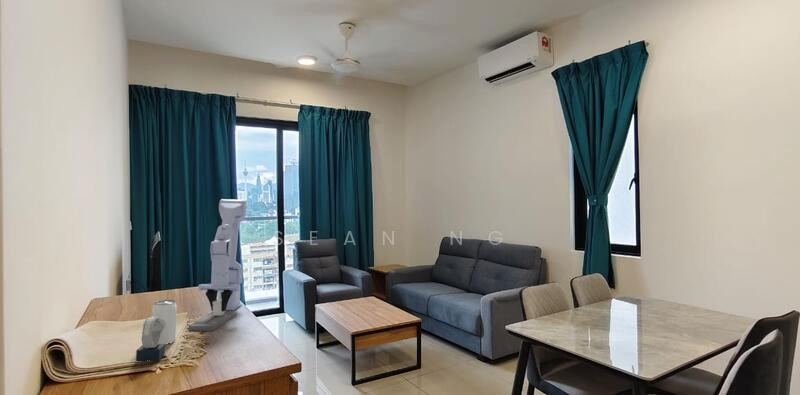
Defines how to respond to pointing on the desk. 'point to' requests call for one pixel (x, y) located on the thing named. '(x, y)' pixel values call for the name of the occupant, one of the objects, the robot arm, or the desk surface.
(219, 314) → the fader tab
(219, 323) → the console
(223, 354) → the desk surface
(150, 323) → the grey statuette
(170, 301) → the can
